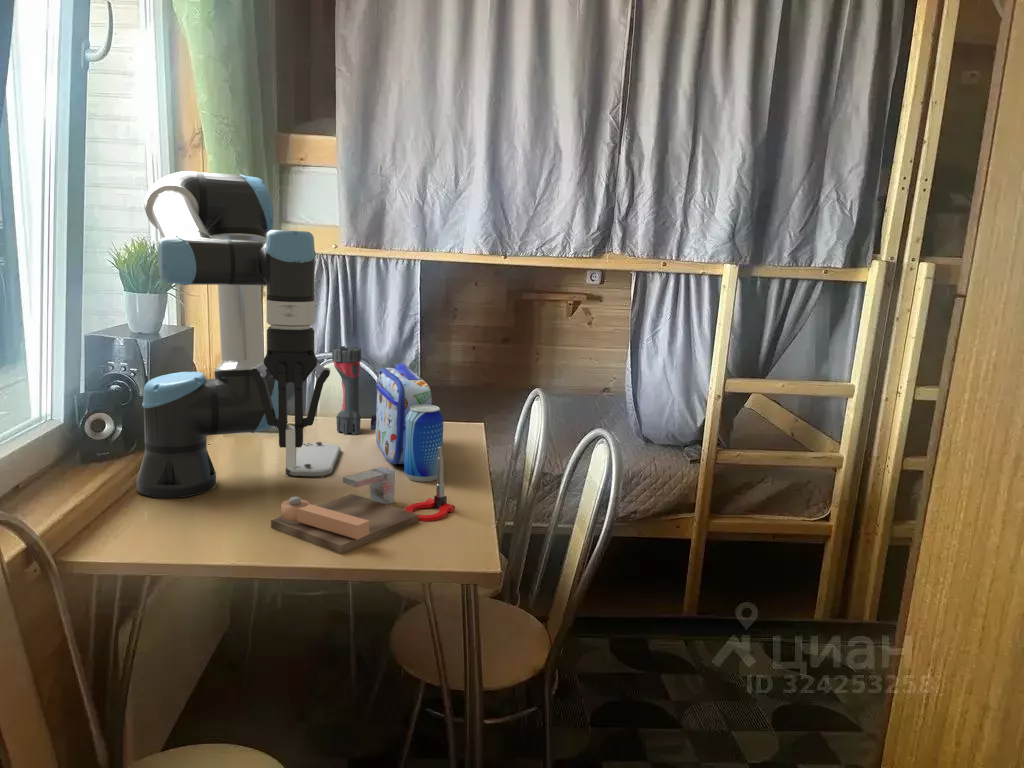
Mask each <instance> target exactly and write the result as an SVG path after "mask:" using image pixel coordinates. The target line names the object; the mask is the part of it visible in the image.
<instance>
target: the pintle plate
mask: <svg viewBox="0 0 1024 768" xmlns="http://www.w3.org/2000/svg"><path fill="white" fill-rule="evenodd" d="M315 506H319V507H322V508H326V509H329V510H333V511H336V512H340V513H344V514H347V515H351V516H354V517H358V518H361V519H365V520H369V534H368V535H366V536H364V537H362V538H360V539H354V538H351V537H348V536H344V535H341V534H337V533H334V532H331V531H327V530H324V529H321V528H317V527H314V526H310V525H307V524H304V523H300V522H297V521H296V522H291V521H285V520H283V519H282V517H281V516H278V517H276V518H273V519H270V527H271V528H272V529H274V530H277V531H278V532H279V531H280V532H282V533H284V534H287V535H290V536H292V537H295V538H296V539H300V540H302V541H306V542H309V543H311V544H313V545H316V546H319V547H321V548H323V549H326V550H330V551H331V552H332V551H333V553H334V552H335V553H338V554H340V555H341V554H344V553H347V552H349V551H351V550H354V549H357V548H359V547H361V546H363V545H367V544H368V543H371V542H374V541H376V540H378V539H381V538H383V537H386V536H388V535H390V534H393V533H395V532H397V531H400V530H403V529H405V528H408V527H410V526H412V525H415V524H417V523H419V522H420V521H419V515H420V514H419V513H415V512H413V513H412V512H408V511H405V509H401V508H398V507H395V506H392V505H389V504H383V503H380V502H377V501H374V500H370V498H367V497H365V496H361V495H357V494H355V493H349V494H345V495H343V496H339V497H336V498H333V499H331V500H326V501H324V502H322V503H318V504H315ZM418 514H419V515H418ZM373 540H374V541H373Z"/></svg>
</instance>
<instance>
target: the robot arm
mask: <svg viewBox="0 0 1024 768" xmlns="http://www.w3.org/2000/svg"><path fill="white" fill-rule="evenodd" d="M143 201H144V202H143V203H144V206H143V207H144V211H145V215H146V216H147V218H148V221H149V222H150V223H151V224H152V225H153V227H155V228H156V229H158V232H159V235H160V236H161V238H160V240H159V242H158V245H157V246H158V247H157V263H158V264H157V265H158V272H159V273H158V274H159V277H160V280H161V281H163V283H166V284H173V285H175V284H176V285H181V286H188V285H189V286H191V285H192V286H193V285H196V286H197V285H199V286H200V285H202V286H203V285H205V286H206V285H207V286H208V285H211V286H212V285H213V286H214V285H216V286H217V295H218V297H217V298H218V315H219V316H218V318H219V334H220V350H221V351H220V354H221V355H220V356H221V361H220V364H219V365H217V367H216V368H214V378H209V379H208V378H207V377H206V374H204V372H201V371H179V372H173V373H168V374H163V375H159V376H156V377H154V378H151V379H150V380H148V381H147V382H146V383H145V385H144V387H143V397H142V399H143V400H142V403H141V405H142V408H143V421H144V422H143V424H144V425H143V426H144V427H143V428H144V429H143V431H144V432H143V433H144V454H143V458H142V461H141V464H140V468H139V471H138V475H137V476H136V490H137V492H138V493H139V494H141V495H143V496H146V497H152V498H162V499H163V498H165V499H168V498H169V499H172V498H174V499H175V498H184V497H191V496H196V495H200V494H203V493H206V492H209V491H211V490H212V489H214V488H215V487H216V486H217V471H216V469H215V466H214V465H213V464H214V463H212V458H211V457H210V455H209V451H208V447H207V446H208V445H207V436H216V435H217V436H218V435H232V434H243V433H245V434H246V433H253V434H255V433H257V432H264V431H269V430H272V429H274V428H275V427H276V428H277V430H278V445H279V448H285V469H286V468H295V467H296V451H297V448H298V447H302V444H304V429H305V428H306V427H308V426H313V424H314V422H315V419H316V418H315V417H316V414H317V411H318V405H319V401H320V398H321V395H322V390H323V387H324V384H325V382H326V381H327V380H328V378H329V376H330V374H331V368H329V367H325V366H323V365H322V364H320V363H319V362H318V357H317V356H316V354H315V329H314V328H313V327H312V326H313V325H314V324H315V316H316V315H315V311H316V310H315V307H316V306H315V266H316V265H315V258H316V256H317V253H316V250H315V237H314V235H313V234H312V233H311V232H310V231H306V230H305V231H301V230H285V229H274V217H275V216H274V208H273V207H274V206H273V202H272V197H271V193H270V190H269V188H268V186H267V184H266V183H265V181H264V180H262V179H261V178H260V177H256V176H248V175H244V174H241V173H240V174H232V173H217V172H216V173H212V172H200V171H191V170H187V171H178V172H174V173H171V174H168V175H166V176H163V177H162V178H159V179H158V180H156V181H155V182H154V183H153V184H152V185H151V186H150V187H149V189H148V190H147V192H146V195H145V197H144V200H143ZM261 286H266V324H268V325H269V327H267V329H266V354H265V346H264V342H265V341H264V328H263V327H264V326H263V325H264V323H263V308H262V307H263V303H262V290H261V289H262V287H261ZM314 370H315V373H314V377H315V378H316V381H315V385H314V389H313V394H312V396H311V401H310V404H309V408H308V412H307V416H306V417H304V382H305V381H306V380H307V378H308V377H309V376H310V375H311V373H312V372H313V371H314ZM289 383H292V384H293V385H294V387H293V389H294V426H293V425H289V426H288V385H289Z"/></svg>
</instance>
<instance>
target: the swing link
mask: <svg viewBox="0 0 1024 768" xmlns="http://www.w3.org/2000/svg"><path fill="white" fill-rule="evenodd" d="M315 505H316V504H315ZM315 505H314V504H310V503H309V501H307V500H305V499H302V498H301V497H299V496H292V497H289V499H288V500H284V501H283V502H282V503H280V517H282V519H283V520H285V521H291V522H296V521H297V522H300V523H304V524H307V525H310V526H314V527H317V528H321V529H324V530H327V531H331V532H334V533H337V534H341V535H344V536H348V537H351V538H354V539H360V538H362V537H364V536H366V535H368V534H369V520H365V519H361V518H358V517H354V516H351V515H347V514H344V513H340V512H336V511H333V510H329V509H326V508H322V507H319V506H315Z"/></svg>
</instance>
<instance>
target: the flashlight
mask: <svg viewBox="0 0 1024 768" xmlns="http://www.w3.org/2000/svg"><path fill="white" fill-rule="evenodd" d="M331 361H333V364H334V368H335V369H336V371H337V374H339V376H340V378H341V387H342V396H343V398H342V399H343V403H342V407H341V411H340V412H338V413H337V415H336V417H335V418H336V431H338V432H337V433H341V432H342V434H343V433H344V434H343V435H348V434H351V435H355V434H357V435H359V434H361V433H360V431H361V417H362V416H361V413H360V411H359V410H360V409H359V406H360V382H359V381H360V379H359V378H360V373H361V361H362V349H361V348H360V347H357V346H355V345H354V346H351V347H346V346H345V345H344V346H342V345H341V346H339V347H336V346H334V347H332V349H331Z"/></svg>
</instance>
